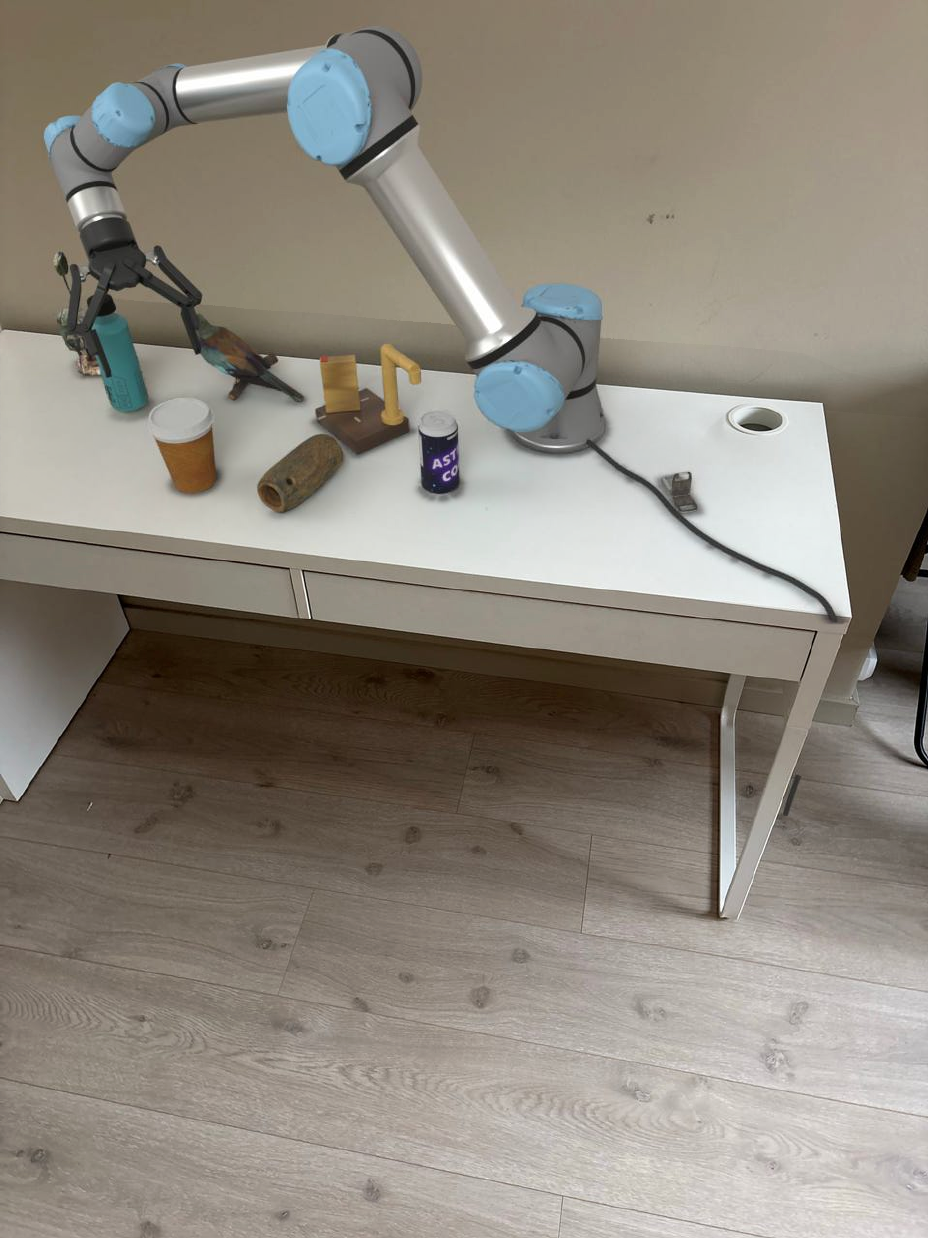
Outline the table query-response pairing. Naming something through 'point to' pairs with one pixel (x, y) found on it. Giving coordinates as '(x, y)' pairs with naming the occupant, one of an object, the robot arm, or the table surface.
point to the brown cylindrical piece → (300, 472)
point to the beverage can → (439, 452)
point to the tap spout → (395, 382)
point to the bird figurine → (239, 360)
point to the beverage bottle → (119, 359)
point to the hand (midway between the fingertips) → (154, 363)
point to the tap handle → (340, 383)
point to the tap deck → (361, 424)
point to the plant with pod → (76, 342)
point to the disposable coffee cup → (185, 442)
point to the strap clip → (680, 491)
